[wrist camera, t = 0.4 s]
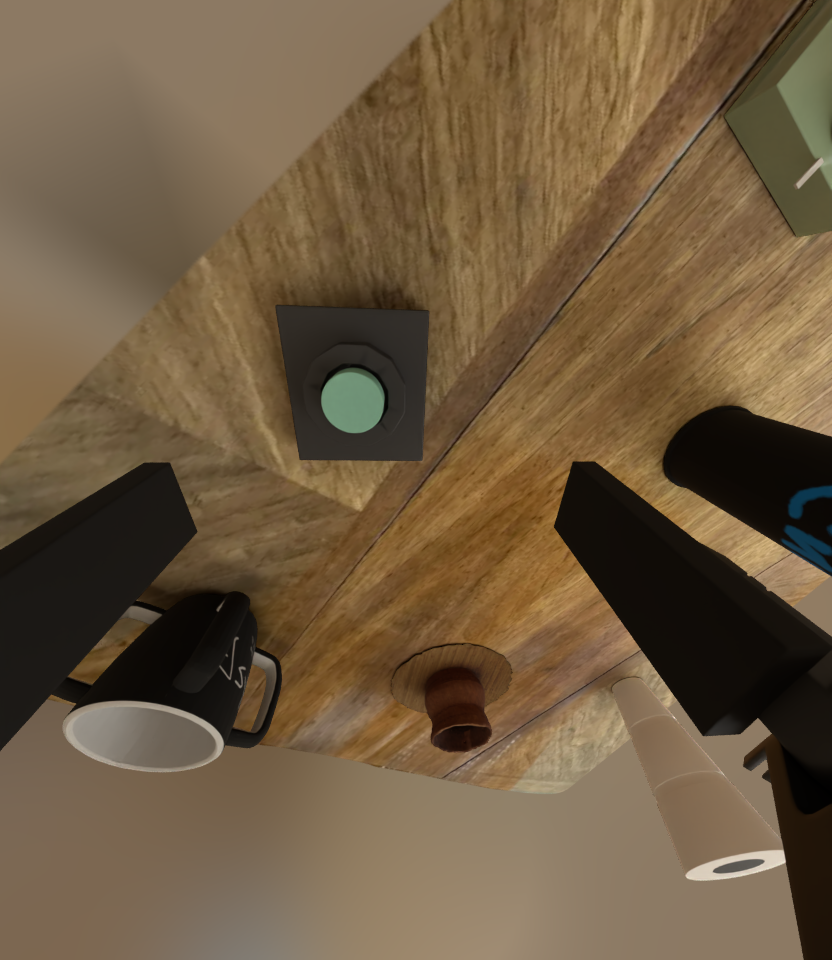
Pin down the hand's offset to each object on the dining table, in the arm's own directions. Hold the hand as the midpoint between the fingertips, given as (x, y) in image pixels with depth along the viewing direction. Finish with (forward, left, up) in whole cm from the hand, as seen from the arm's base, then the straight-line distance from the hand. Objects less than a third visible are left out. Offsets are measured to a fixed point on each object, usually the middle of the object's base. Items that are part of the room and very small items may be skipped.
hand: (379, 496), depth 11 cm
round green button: (0, -2, -13) cm, 13 cm away
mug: (+27, -20, -17) cm, 37 cm away
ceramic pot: (+42, +9, -17) cm, 46 cm away
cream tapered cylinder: (+45, +37, -17) cm, 60 cm away
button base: (0, -2, -16) cm, 17 cm away
